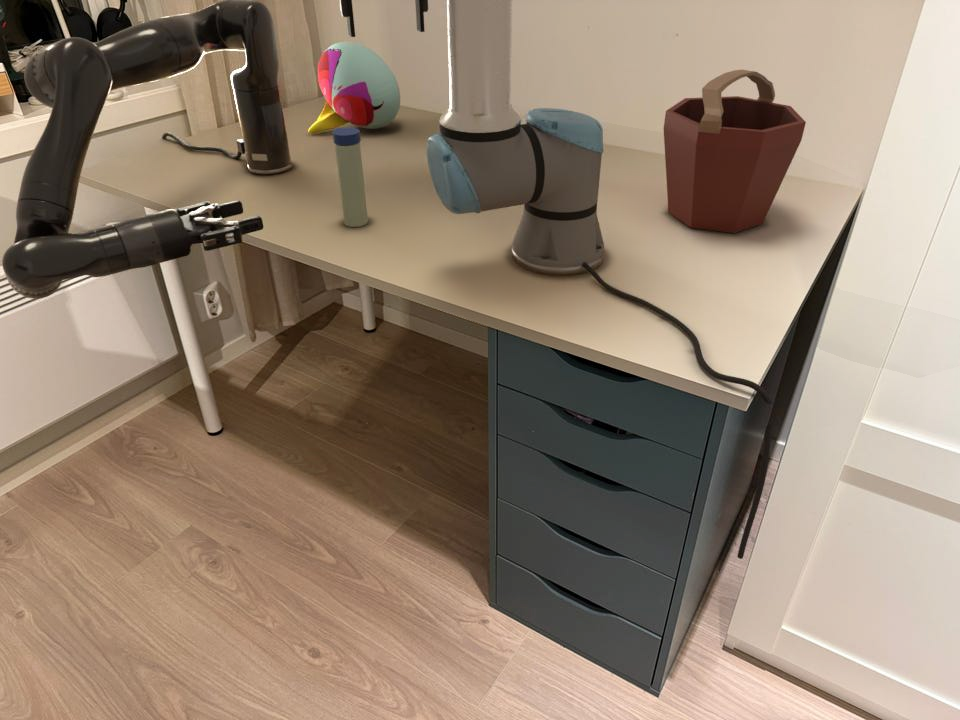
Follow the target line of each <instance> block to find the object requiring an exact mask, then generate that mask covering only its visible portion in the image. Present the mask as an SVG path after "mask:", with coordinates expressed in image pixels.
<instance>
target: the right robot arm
mask: <svg viewBox="0 0 960 720" xmlns="http://www.w3.org/2000/svg"><path fill="white" fill-rule="evenodd" d="M414 2H415V22H416V30H417V31H418V32H420V33H425V13H428V11H429V0H414ZM339 8H340V9H339V10H340V14H341V17H343V18H346V23H347V24H346V25H347V33H348V35H349V36H350V37H351V38H355V37H356V29H355V18H354V8H353V0H339ZM446 28H447V29H446V31H447V32H446V33H447V61H448V62H447V65H448V90H449V91H448V92H449V93H448V94H449V106H448V108H446V110H445V111H444V112H443V113H442V114H441V115H440V117H439V133H433V135H431V136H429V137H428V139H427V141H426V142H427V145H426V159H427V165H428V170H429V174H430V177H431V181H432V184H433V187H434V189H435V192H436V194H437V196H438V199H439V200H440V202H441V204H442V205H443V206H444V207H445V208H446V210H447V211H448V212H449V213H452V214H455V215H464V214H473V213H474V214H480V213H482V212H488V211H493V210H494V211H495V210H499V209H504V208H505V209H506V208H510V207H515V206H520V205H523V212H522V215H521V218H520V220H519V224H518V226H517V229H516V232H515V234H514V237H513V240H512V245H511V257H512V259H513V261H514V262H515V263H516V264H517V265H519V267H521V268H524V269H526V270H528V271H530V272H532V273H533V272H534V273H537V274H541V275H547V276H558V277H559V276H560V277H561V276H573V275H574V276H575V275H580V274H584V273H589V274H590V275H591V276H592V277H593V278H594V279H595V280H596V281H597V283H598V284H599V285H600V286H602V288H604V289H605V290H607V291H609V292H610V293H612V294H614V295H616V296H618V297H621V298H623V299H626V300H628V301H632V302H634V303H636V304H639V305H640V306H641V305H642V306H643V307H645V308H647V309H649V310H651V311H653V312H655V313H656V314H658V315H659V316H662V317H663V318H665V319H667V320H668V321H670V322H671V323H673V324H674V325H676V326H677V327H678V328H679V329H680V330H682V332H684V333H685V334H686V336H687V337H689V339H690V341H691V342H692V345H693V347H694V352H695V357H696V360H697V362H698V365H699V366H700V368H702V370H704V372H706V373H707V374H708V375H709V376H711V377H712V378H714V379H717V380H719V381H722V382H725V383H731V384H737V385H740V386H744V387H748V388H749V389H752V390H754V391H755V392H757V393H758V394H759V396H761V398H762V399H763V401H764V402H765V403H766V404H768V405H772V404H774V403H773V400H772V398H771V396H770V395H769V393H768V392H767V391H766V390H765V389H764V388H763V387H762V386H761V385H759V383H756V382H754V381H752V380H749V379H746V378H743V377H742V378H741V377H737V376H732V375H727V374H723V373H720V372H719V371H716V370H714V369H713V368H712V367H711V366H710V365H708V363H707V361H706V360H705V358H704V355H703V353H702V348H701V344H700V341H699V339H698V338H697V336H696V334H695V333H694V332H693V331H692V330H691V329H690V327H688V326H687V325H685V324H684V323H683V322H682V321H681V320H679V319H678V318H676V317H675V316H673V315H671V314H670V313H668V312H667V311H666V310H663V309H662V308H660V307H658V306H656V305H654V304H653V303H651V302H649V301H647V300H645V299H642V298H640V297H637V296H636V295H632V294H629V293H627V292H624V291H621V290H619V289H617V288H615V287H613V286H612V285H610V284H608V282H606V281H604V279H603V278H602V277H601V276H600V275H599V274H598V273H597V271H596V270H595V269H596V268H598V267H599V266H600V265H601V264H602V263H603V261H604V258H605V242H604V239H603V233H602V230H601V226H600V222H599V218H598V213H597V212H598V199H599V188H600V179H601V178H600V177H601V167H602V159H603V156H602V155H603V154H604V129H603V126H602V124H601V123H600V121H598V119H596V118H595V117H592V116H590V115H589V114H585V113H582V112H578V111H574V110H568V109H563V108H562V109H561V108H553V107H552V108H551V107H548V108H547V107H538V108H534V109H531V110H529V111H528V112H527V113H526V115H525V118H524V119H525V123H523V124H522V123H521V122H522V118H521V115H519V113H517V112H516V111H515V109H514V108H513V106H512V104H511V102H512V101H511V98H512V97H511V93H512V91H511V90H512V89H511V88H512V84H511V83H512V43H513V39H512V38H513V37H512V36H513V35H512V34H513V0H446ZM510 104H511V105H510ZM511 106H512V107H511ZM773 428H774V421H773V422H771V423H769V424H767V425H765V429H764V437H763V438H764V439H763V448H762V456H761V465H760V469H759V476H758V481H757V484H756V489H755V492H754V497H753V501H752V503H751V507H750V510H749V513H748V517H747V520H746V523H745V527H744V530H743V533H742V537H741V540H740V543H739V548H738V552H737V555H736V556H737V559H739V560H742V559H743V558H744V555H745V552H746V548H747V544H748V541H749V537H750V534H751V531H752V527H753V524H754V521H755V518H756V516H757V515H756V514H757V511H758V509H759V505H760V502H761V499H762V495H763V491H764V486H765V483H766V479H767V478H766V477H767V471H768V468H769V467H768V466H769V459H770V454H771V453H770V452H771V445H772V444H771V443H772V434H773Z"/></svg>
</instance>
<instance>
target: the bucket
mask: <svg viewBox="0 0 960 720" xmlns="http://www.w3.org/2000/svg"><path fill="white" fill-rule="evenodd" d="M746 77H747V78H748V79H749V80H750V81H751V82H752V83H754V84H755V85H756V88H757V91H758V98H757V99H754V98H750V97H744V96H739V95H736V96H733V95H732V96H731V95H730V96H722V92H724V91H725V90H726V89H727V88H728V87H729V86H730V85H732V84H734V83H735V82H737V81H738V80H740V79H743V78H746ZM701 96H702V97H685V98H683V99H682V100H680V101H679V102H677V103H676V104H674V105H672V106H670V107H669V108H668V109H667V110H665V115H664V122H663V143H664V156H665V157H664V159H665V161H664V162H665V177H666V179H665V180H666V192H667V193H666V194H667V196H666V197H667V212H668V214H670V215H671V216H672V217H674V218H676V219H677V220H679V221H680V222H681V223H683V224H684V225H686V226H687V227H689V228H691V229H698V230H707V231H715V232H721V233H732V234H735V233H739V232H742V231H745V230H749V229H751V228H754V227H757V226H760V225H762V224H764V222H765V219H766V218H767V215H768V213H769V211H770V209H771V207H772V205H773V202H774V201H775V198H776V196H777V195H778V192H779V189H780V187H781V185H782V183H783V181H784V179H785V177H786V175H787V173H788V170H789V168H790V167H791V164H792V162H793V159H794V158H795V155H796V153H797V151H798V150H799V149H798V148H799V147H800V145H801V142H802V139H803V135H804V132H805V128H806V125H807V124H806V120H805V119H804V118H803V117H802V116H801V115H800V114H799V113H798V112H797V111H796V110H795V109H794V108H793V107H792V106H791V105H787V104H781V103H776V102H774V101H775V98H776V92H775V88H774V83H773V82H772V81H771V80H769V79H768V78H767V77H766V76H765V75H763V74H761V73H760V72H758V71H755V70H748V69H735V70H732V71H727V72H724V73H722V74H720V75H717V76H716V77H714V78H713V79H711V80H709V81H708V82H707V83H706V84H705V85H704V86H703V87H702V88H701Z"/></svg>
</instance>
